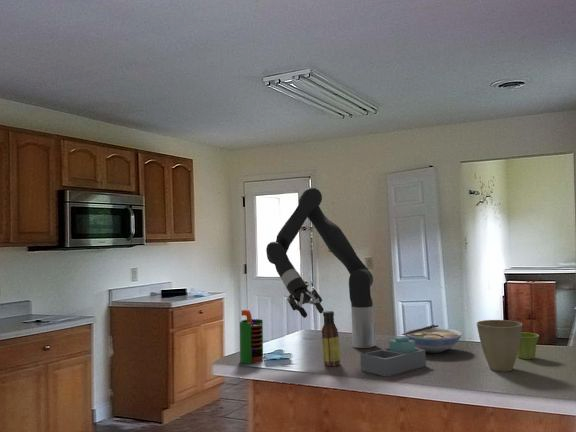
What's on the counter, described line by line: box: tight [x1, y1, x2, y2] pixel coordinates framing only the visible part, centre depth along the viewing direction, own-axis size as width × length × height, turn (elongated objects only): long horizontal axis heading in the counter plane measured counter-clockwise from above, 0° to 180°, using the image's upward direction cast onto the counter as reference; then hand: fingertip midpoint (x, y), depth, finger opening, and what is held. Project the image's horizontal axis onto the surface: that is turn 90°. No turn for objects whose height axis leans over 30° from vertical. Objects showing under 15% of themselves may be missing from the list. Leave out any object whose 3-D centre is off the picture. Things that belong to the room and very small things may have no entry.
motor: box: [239, 309, 264, 365], centre depth 217 cm, size 10×9×20 cm
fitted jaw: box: [388, 335, 416, 354], centre depth 201 cm, size 6×7×9 cm
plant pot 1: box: [476, 319, 523, 373], centre depth 192 cm, size 15×15×16 cm
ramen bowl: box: [400, 324, 463, 354], centre depth 224 cm, size 25×23×8 cm
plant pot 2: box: [516, 331, 540, 360], centre depth 207 cm, size 9×9×9 cm
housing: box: [359, 347, 427, 377], centre depth 198 cm, size 21×12×6 cm, turn 127°
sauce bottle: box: [321, 310, 341, 367], centre depth 207 cm, size 6×6×20 cm
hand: (314, 314), depth 217 cm, fingers open, 8 cm apart
